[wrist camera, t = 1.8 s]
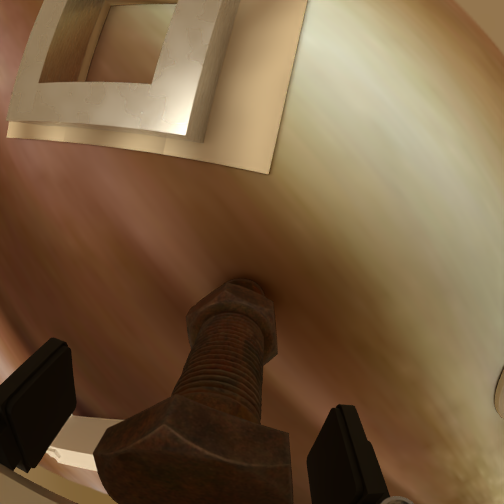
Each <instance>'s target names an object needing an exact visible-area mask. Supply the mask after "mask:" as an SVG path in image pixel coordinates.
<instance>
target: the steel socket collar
mask: <svg viewBox="0 0 504 504" xmlns="http://www.w3.org/2000/svg"><path fill="white" fill-rule="evenodd" d="M240 1H241V0H178V3H177V5H176V8H175V11H174V14H173V17H172V19H171V22H170V25H169V28H168V31H167V34H166V37H165V41H164V44H163V47H162V50H161V53H160V57H159V60H158V64H157V67H156V71H155V74H154V78H153V81H152V84H139V83H119V82H77V80H78V77H79V73H80V70H81V66H82V63H83V60H84V57H85V54H86V50H87V47H88V44H89V42H90V39H91V36H92V33H93V30H94V27H95V25H96V22H97V20H98V17H99V14H100V12H101V9H102V7H103V5H104V2H105V0H44V2H43V4H42V7H41V9H40V11H39V14H38V16H37V19H36V21H35V24H34V26H33V29H32V31H31V34H30V37H29V40H28V42H27V45H26V48H25V51H24V54H23V57H22V60H21V64H20V67H19V70H18V74H17V77H16V81H15V84H14V88H13V92H12V96H11V100H10V105H9V109H8V114H7V119H6V121H13V122H20V123H28V124H35V125H42V126H58V127H73V128H86V129H98V130H108V131H117V132H126V133H135V134H143V135H150V136H158V137H165V138H171V139H178V140H184V141H191V142H197V143H203V142H204V137H205V133H206V128H207V124H208V120H209V115H210V111H211V107H212V103H213V99H214V95H215V91H216V87H217V83H218V79H219V75H220V71H221V67H222V63H223V60H224V56H225V52H226V49H227V45H228V42H229V38H230V34H231V31H232V28H233V24H234V21H235V17H236V14H237V11H238V7H239V4H240Z"/></svg>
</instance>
